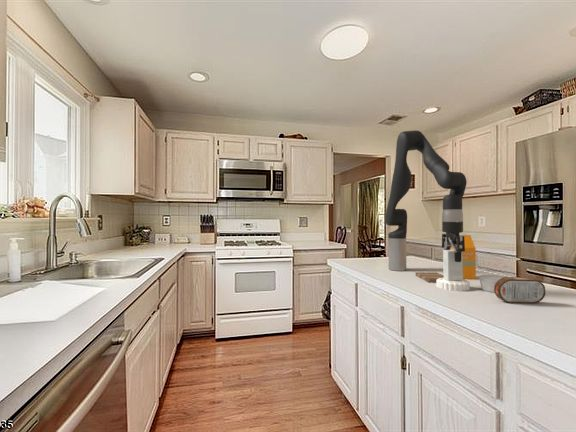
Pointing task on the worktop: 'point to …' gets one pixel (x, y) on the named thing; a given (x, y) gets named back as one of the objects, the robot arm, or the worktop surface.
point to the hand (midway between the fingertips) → (452, 260)
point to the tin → (519, 290)
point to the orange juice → (469, 258)
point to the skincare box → (452, 266)
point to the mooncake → (453, 284)
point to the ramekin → (489, 282)
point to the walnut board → (429, 276)
